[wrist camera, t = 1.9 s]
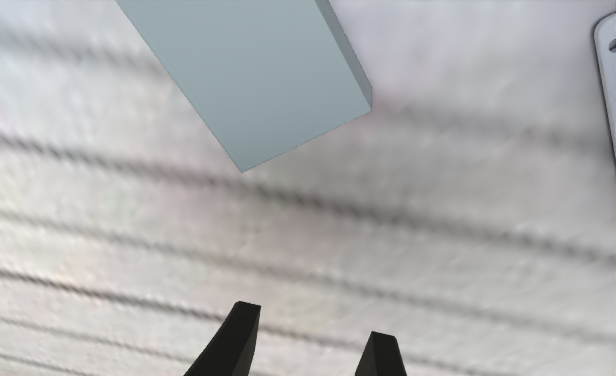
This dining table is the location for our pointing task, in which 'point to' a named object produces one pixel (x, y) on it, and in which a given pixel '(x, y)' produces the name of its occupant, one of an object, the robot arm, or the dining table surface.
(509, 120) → the dining table surface
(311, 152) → the dining table surface
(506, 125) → the dining table surface
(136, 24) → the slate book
